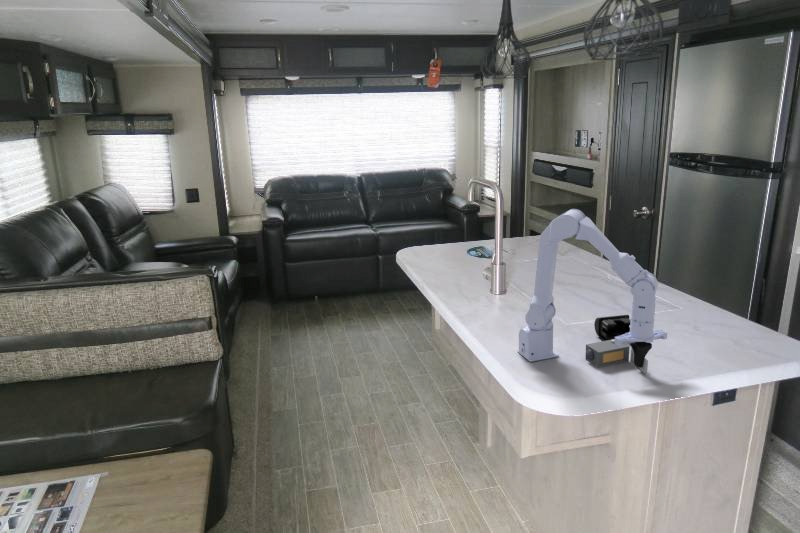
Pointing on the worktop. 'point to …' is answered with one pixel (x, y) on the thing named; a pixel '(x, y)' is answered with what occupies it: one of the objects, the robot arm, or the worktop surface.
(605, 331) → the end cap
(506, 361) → the worktop surface
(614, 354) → the camera case
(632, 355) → the side cover
